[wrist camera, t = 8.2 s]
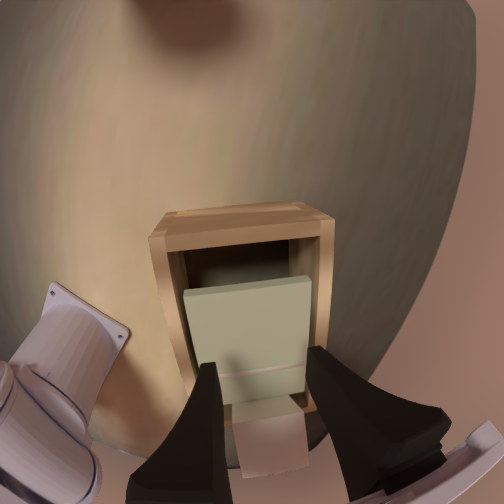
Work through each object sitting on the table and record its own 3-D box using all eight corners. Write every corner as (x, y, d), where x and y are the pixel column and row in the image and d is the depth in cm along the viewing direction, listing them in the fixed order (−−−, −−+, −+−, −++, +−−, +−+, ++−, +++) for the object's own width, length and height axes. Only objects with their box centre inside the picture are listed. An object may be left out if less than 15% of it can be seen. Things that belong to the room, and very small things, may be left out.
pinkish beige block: (291, 436, 17) (309, 466, 12) (239, 445, 17) (242, 478, 12) (285, 391, 18) (303, 411, 13) (232, 400, 18) (231, 423, 13)
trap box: (295, 360, 25) (316, 410, 19) (199, 373, 24) (200, 428, 18) (296, 199, 20) (334, 219, 13) (167, 211, 18) (148, 238, 12)
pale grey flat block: (290, 358, 21) (304, 391, 18) (207, 370, 20) (209, 406, 17) (291, 256, 18) (311, 281, 14) (187, 268, 17) (183, 297, 14)
